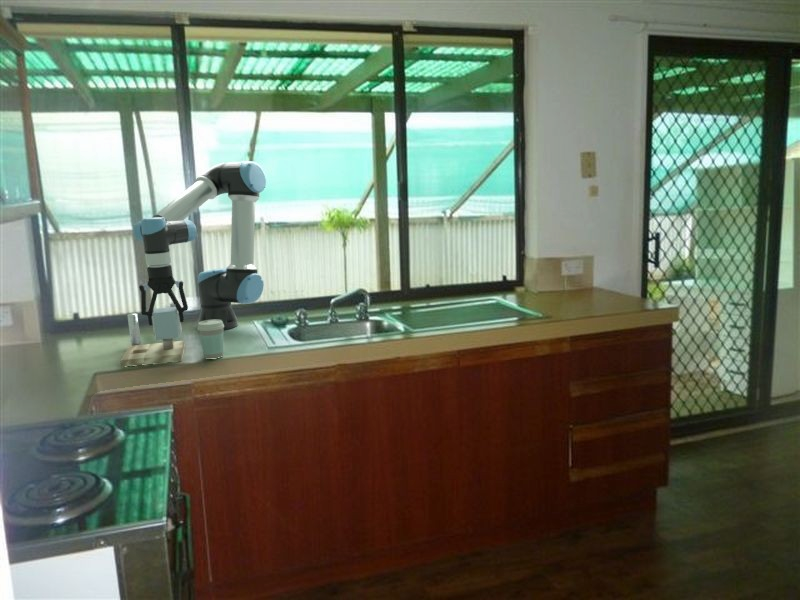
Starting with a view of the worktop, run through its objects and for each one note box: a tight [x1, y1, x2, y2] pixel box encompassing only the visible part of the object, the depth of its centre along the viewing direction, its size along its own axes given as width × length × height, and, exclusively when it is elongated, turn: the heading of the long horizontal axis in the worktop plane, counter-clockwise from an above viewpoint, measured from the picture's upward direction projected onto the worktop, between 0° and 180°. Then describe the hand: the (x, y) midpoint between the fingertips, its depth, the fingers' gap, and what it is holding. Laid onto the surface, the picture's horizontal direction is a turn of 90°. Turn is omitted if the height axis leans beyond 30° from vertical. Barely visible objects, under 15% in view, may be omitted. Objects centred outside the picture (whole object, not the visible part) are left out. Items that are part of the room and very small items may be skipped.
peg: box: [127, 312, 142, 346], centre depth 214 cm, size 3×3×12 cm
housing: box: [152, 306, 181, 341], centre depth 201 cm, size 7×7×9 cm
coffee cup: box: [196, 319, 224, 359], centre depth 198 cm, size 8×8×12 cm
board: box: [120, 338, 186, 368], centre depth 201 cm, size 18×18×10 cm
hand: (168, 332), depth 202 cm, fingers closed on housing, 7 cm apart
